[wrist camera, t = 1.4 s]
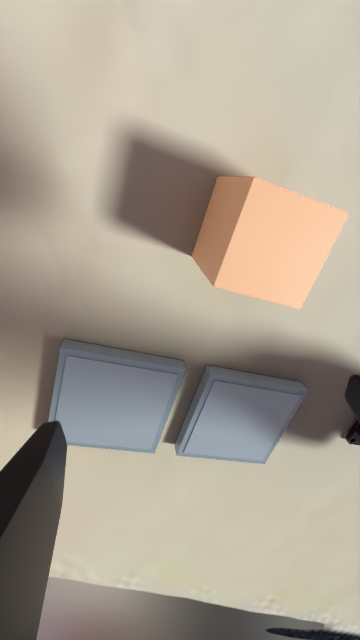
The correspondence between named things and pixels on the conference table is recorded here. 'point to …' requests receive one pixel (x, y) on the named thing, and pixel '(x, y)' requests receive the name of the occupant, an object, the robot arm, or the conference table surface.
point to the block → (265, 240)
